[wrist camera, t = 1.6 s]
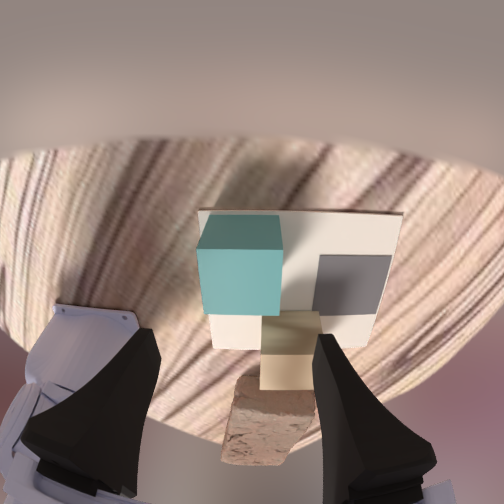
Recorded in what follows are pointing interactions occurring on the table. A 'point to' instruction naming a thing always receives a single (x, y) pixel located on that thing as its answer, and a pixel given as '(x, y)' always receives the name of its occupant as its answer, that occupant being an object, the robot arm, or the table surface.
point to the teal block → (241, 265)
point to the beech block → (288, 350)
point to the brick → (265, 423)
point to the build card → (322, 273)
